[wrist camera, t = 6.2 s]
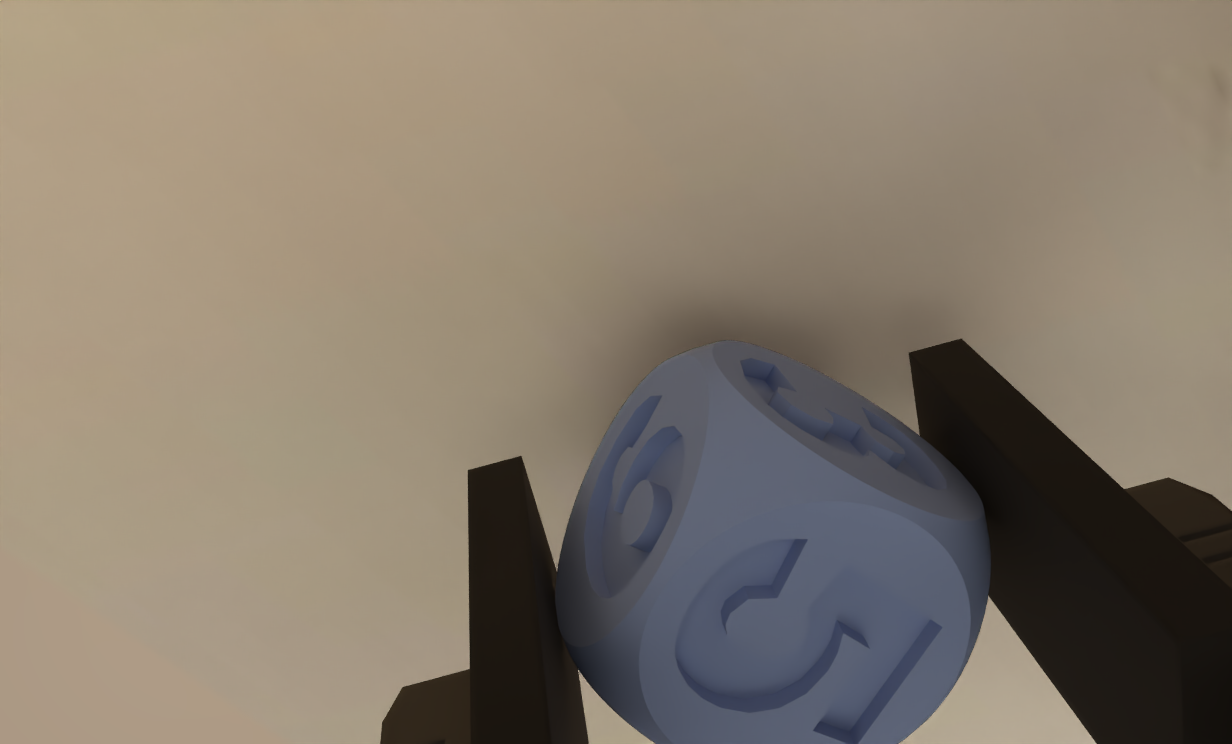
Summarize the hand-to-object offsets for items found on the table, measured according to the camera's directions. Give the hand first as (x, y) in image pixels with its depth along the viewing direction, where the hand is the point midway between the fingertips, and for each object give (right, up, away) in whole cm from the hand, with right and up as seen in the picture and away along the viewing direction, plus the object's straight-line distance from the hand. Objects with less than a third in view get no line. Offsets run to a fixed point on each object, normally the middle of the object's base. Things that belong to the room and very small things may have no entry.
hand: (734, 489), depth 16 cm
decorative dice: (0, 0, 0) cm, 1 cm away
